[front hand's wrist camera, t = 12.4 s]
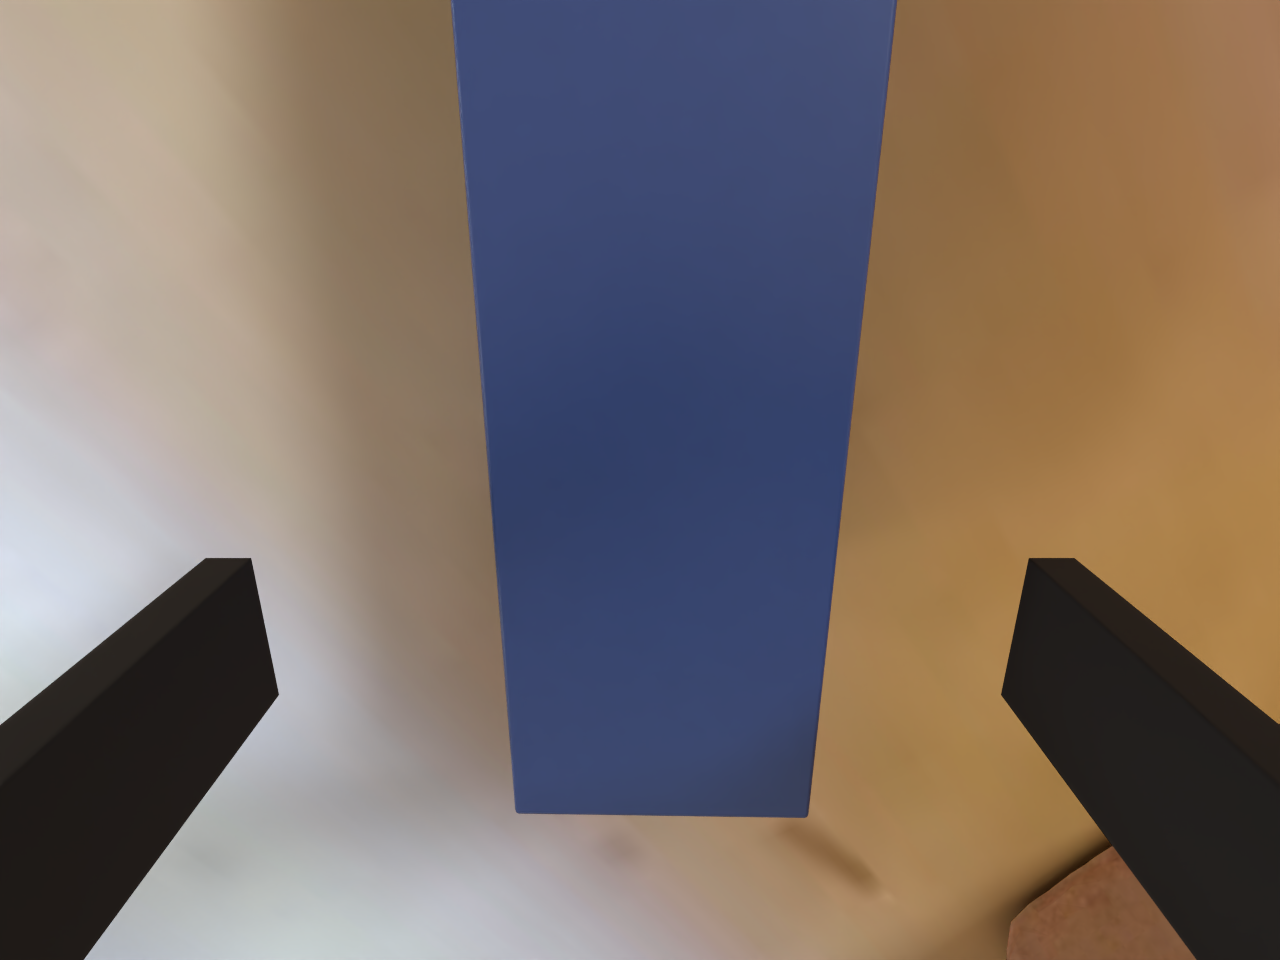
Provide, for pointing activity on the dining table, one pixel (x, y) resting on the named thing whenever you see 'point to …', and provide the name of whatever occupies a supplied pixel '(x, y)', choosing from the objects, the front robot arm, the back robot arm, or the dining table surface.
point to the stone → (1095, 919)
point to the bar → (668, 379)
